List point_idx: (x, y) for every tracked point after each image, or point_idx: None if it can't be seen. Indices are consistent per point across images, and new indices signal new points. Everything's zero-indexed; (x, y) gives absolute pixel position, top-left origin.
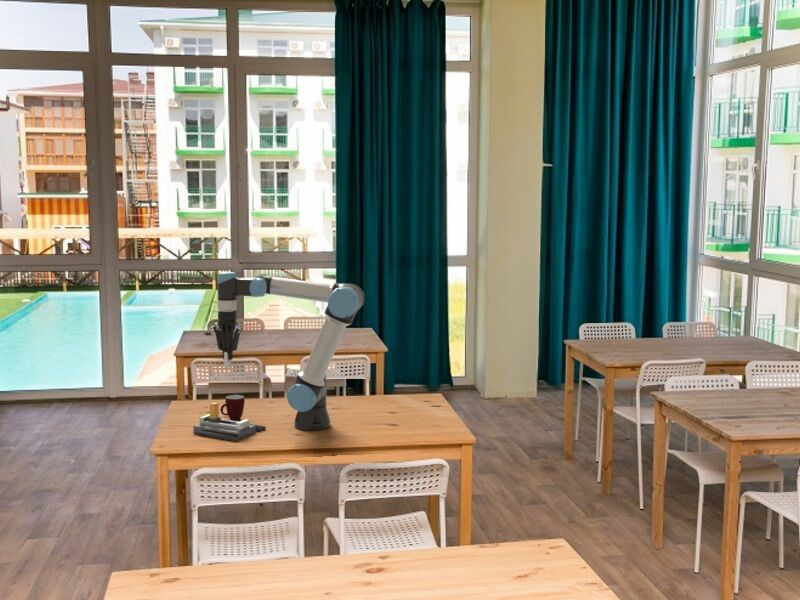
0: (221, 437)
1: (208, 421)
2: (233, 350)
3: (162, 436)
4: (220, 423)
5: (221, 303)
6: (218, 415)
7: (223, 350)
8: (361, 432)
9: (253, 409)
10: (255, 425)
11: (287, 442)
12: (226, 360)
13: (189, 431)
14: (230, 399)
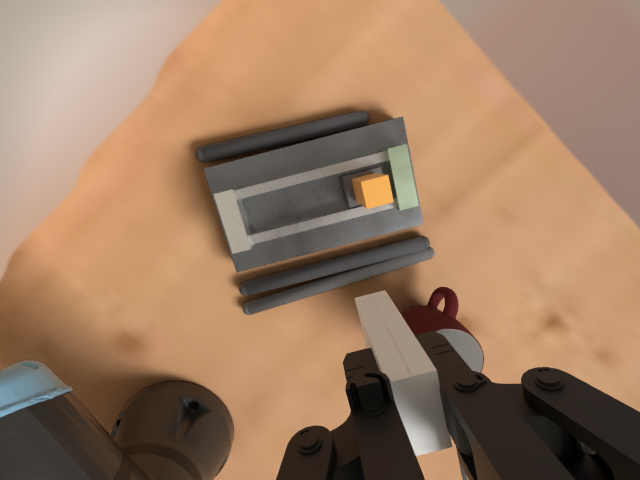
0: (257, 133)
1: (369, 161)
2: (291, 444)
3: (448, 12)
4: (311, 174)
5: None
6: (358, 202)
7: (457, 380)
8: None
9: None
10: (277, 298)
11: (77, 261)
12: (375, 326)
13: (423, 124)
14: (433, 330)
